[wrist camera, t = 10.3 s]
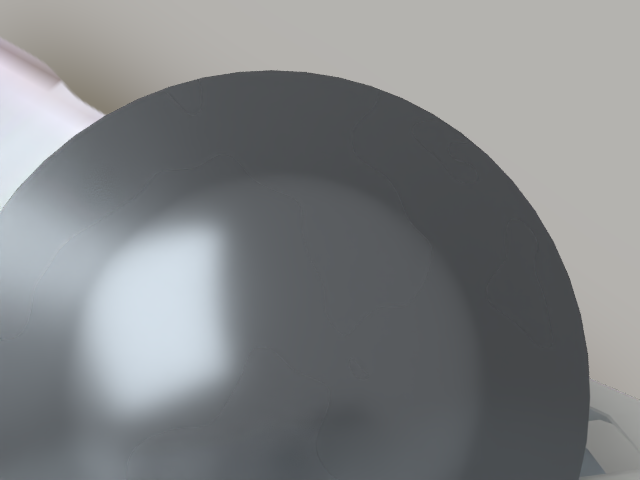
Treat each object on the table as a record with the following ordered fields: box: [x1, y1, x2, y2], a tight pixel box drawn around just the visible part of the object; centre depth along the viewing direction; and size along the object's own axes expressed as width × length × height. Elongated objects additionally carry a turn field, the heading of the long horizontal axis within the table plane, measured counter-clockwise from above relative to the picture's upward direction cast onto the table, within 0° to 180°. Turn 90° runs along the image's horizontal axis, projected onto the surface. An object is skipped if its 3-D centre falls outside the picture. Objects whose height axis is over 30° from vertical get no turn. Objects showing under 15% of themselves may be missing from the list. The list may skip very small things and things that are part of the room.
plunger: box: [0, 70, 590, 480], centre depth 11 cm, size 6×6×14 cm
